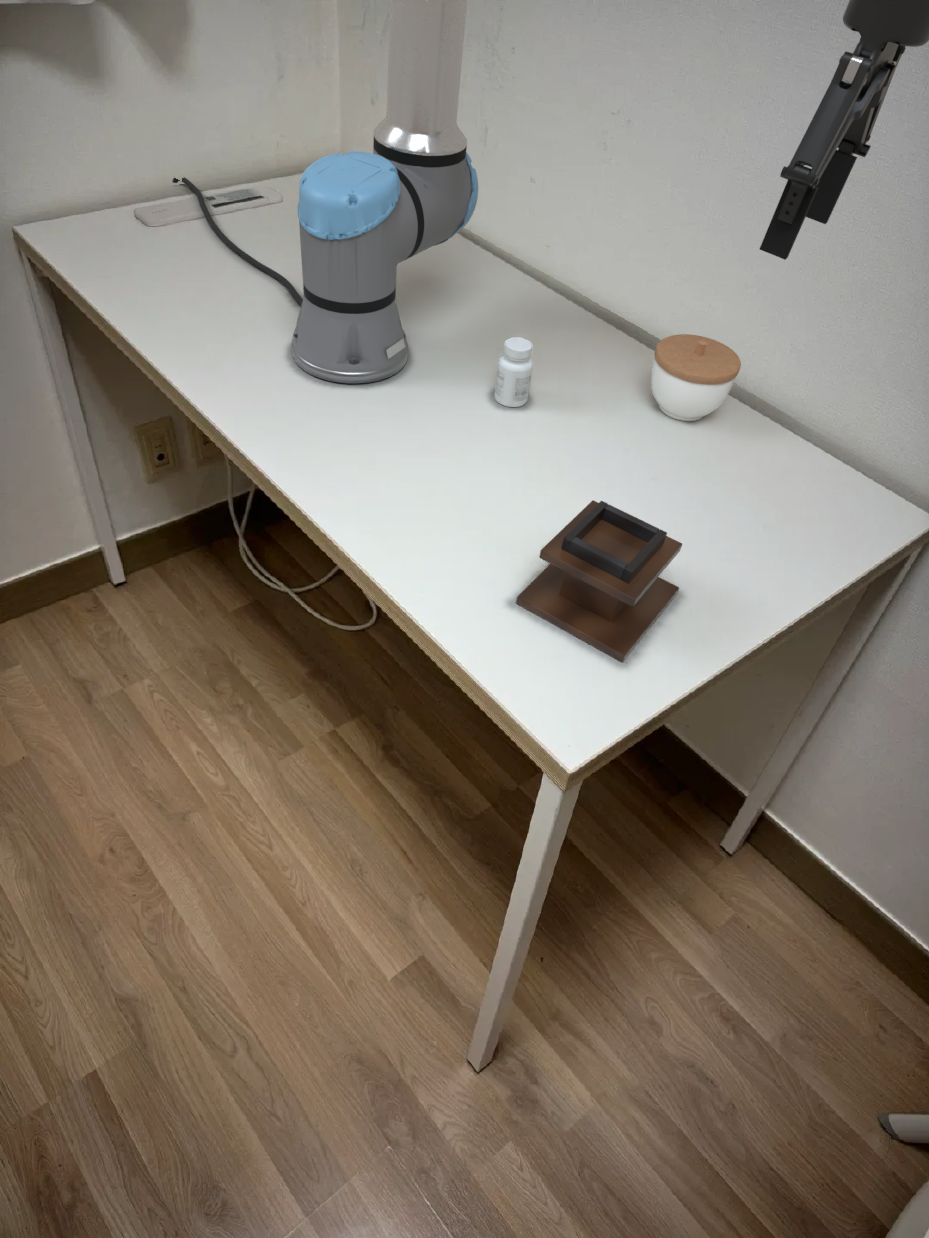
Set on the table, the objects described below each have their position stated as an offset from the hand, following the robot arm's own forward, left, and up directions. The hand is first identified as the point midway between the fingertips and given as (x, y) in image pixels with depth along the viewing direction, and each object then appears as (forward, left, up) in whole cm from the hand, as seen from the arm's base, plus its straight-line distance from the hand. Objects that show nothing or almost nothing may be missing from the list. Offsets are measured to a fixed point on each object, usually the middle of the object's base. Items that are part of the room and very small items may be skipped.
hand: (794, 236), depth 85 cm
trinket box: (-8, +6, -27) cm, 28 cm away
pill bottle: (-26, -8, -27) cm, 38 cm away
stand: (+1, -33, -27) cm, 42 cm away
